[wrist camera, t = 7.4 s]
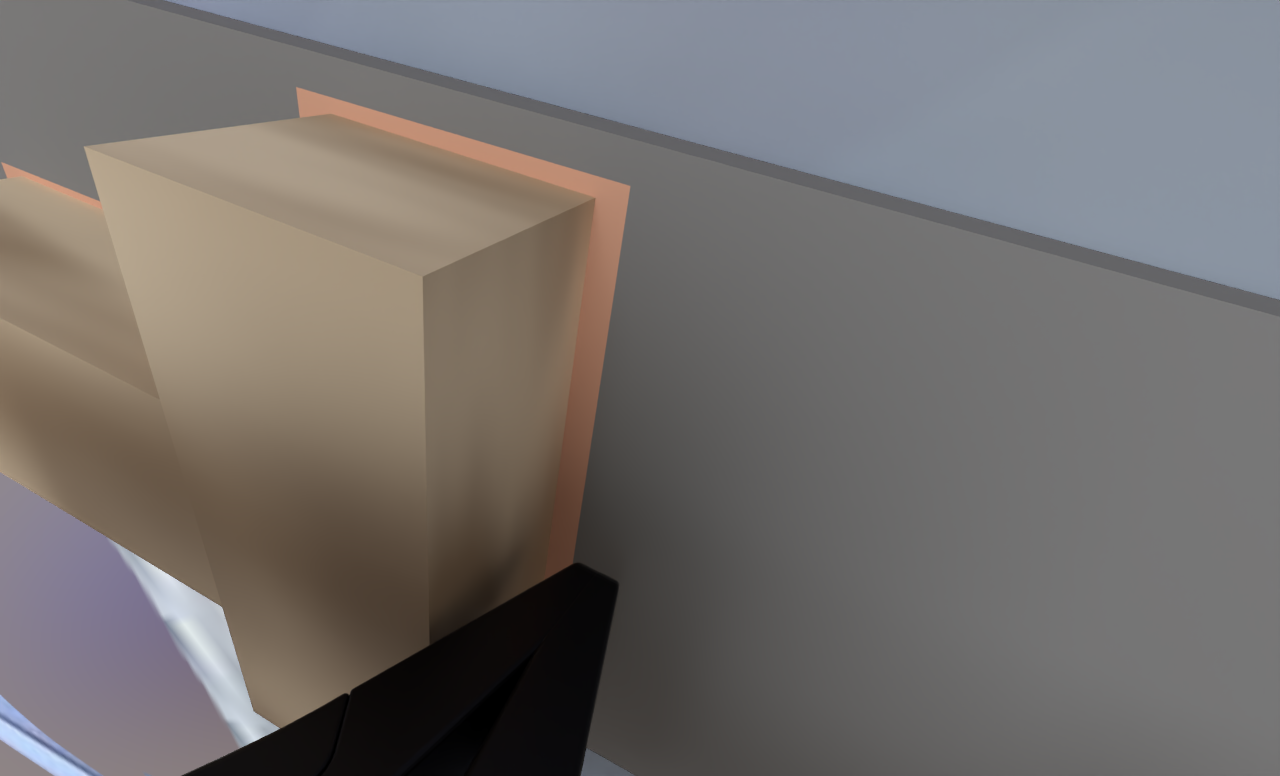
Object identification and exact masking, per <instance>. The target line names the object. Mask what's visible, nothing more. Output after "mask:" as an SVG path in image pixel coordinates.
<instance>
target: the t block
mask: <svg viewBox="0 0 1280 776" xmlns="http://www.w3.org/2000/svg"><path fill="white" fill-rule="evenodd" d="M84 149H85V152H86V156H87V159H88V162H89V166H90V169H91V172H92V176H93V179H94V182H95V186H96V189H97V192H98V196H99V199H100V202H101V205H102V209H103V210H102V209H100V208H98V207H95V206H93V205H90V204H88V203H86V202H83V201H81V200H78V199H76V198H74V197H71V196H69V195H66V194H64V193H62V192H59V191H57V190H54V189H52V188H50V187H47V186H45V185H42V184H40V183H38V182H35V181H33V180H31V179H28V178H26V177H23V176H19V177H13V178H6V179H0V472H1V473H3V474H4V475H6V476H8V477H9V478H11V479H12V480H14V481H16V482H17V483H19V484H21V485H22V486H24V487H26V488H27V489H29V490H30V491H32V492H34V493H35V494H37V495H39V496H40V497H42V498H44V499H45V500H47V501H49V502H50V503H52V504H54V505H55V506H57V507H58V508H60V509H62V510H63V511H65V512H67V513H68V514H70V515H72V516H73V517H75V518H77V519H78V520H80V521H82V522H83V523H85V524H86V525H88V526H90V527H92V528H93V529H95V530H96V531H98V532H100V533H101V534H103V535H105V536H106V537H108V538H109V539H111V540H113V541H114V542H116V543H118V544H119V545H121V546H123V547H124V548H126V549H128V550H129V551H131V552H133V553H134V554H136V555H137V556H139V557H141V558H142V559H144V560H146V561H147V562H149V563H151V564H152V565H154V566H156V567H157V568H159V569H161V570H162V571H164V572H165V573H167V574H169V575H170V576H172V577H174V578H175V579H177V580H179V581H180V582H182V583H184V584H185V585H187V586H188V587H190V588H192V589H193V590H195V591H197V592H198V593H200V594H202V595H203V596H205V597H207V598H208V599H210V600H212V601H213V602H215V603H216V604H218V605H220V606H221V607H223V611H224V614H225V617H226V621H227V624H228V627H229V631H230V634H231V637H232V641H233V644H234V647H235V651H236V654H237V657H238V661H239V664H240V667H241V671H242V674H243V677H244V681H245V684H246V687H247V690H248V694H249V697H250V700H251V704H252V707H253V710H254V712H256V713H257V714H259V715H260V716H262V717H264V718H265V719H267V720H268V721H270V722H271V723H273V724H274V725H276V726H277V727H279V728H282V727H284V726H286V725H288V724H290V723H292V722H293V721H295V720H297V719H299V718H301V717H303V716H305V715H306V714H308V713H310V712H312V711H314V710H316V709H318V708H319V707H321V706H323V705H325V704H326V703H328V702H330V701H332V700H333V699H335V698H337V697H338V696H340V695H342V694H344V693H348V694H350V691H351V690H352V689H353V688H355V687H357V686H358V685H360V684H362V683H364V682H365V681H367V680H369V679H371V678H372V677H374V676H376V675H378V674H379V673H381V672H383V671H385V670H387V669H388V668H390V667H392V666H394V665H395V664H397V663H399V662H401V661H402V660H404V659H406V658H408V657H409V656H411V655H413V654H415V653H416V652H418V651H420V650H422V649H423V648H425V647H427V646H429V645H430V644H432V643H434V642H436V641H438V640H439V639H441V638H443V637H445V636H446V635H448V634H450V633H452V632H453V631H455V630H457V629H459V628H460V627H462V626H464V625H466V624H467V623H469V622H471V621H473V620H474V619H476V618H478V617H480V616H481V615H483V614H485V613H487V612H489V611H490V610H492V609H494V608H496V607H497V606H499V605H501V604H503V603H504V602H506V601H508V600H510V599H511V598H513V597H515V596H517V595H518V594H520V593H522V592H524V591H525V590H527V589H529V588H531V587H532V586H534V585H536V584H538V583H540V582H541V581H543V580H544V579H545V571H546V564H547V556H548V549H549V541H550V534H551V526H552V519H553V511H554V504H555V496H556V489H557V482H558V474H559V467H560V459H561V452H562V444H563V437H564V429H565V422H566V414H567V407H568V399H569V392H570V384H571V377H572V369H573V362H574V354H575V347H576V339H577V332H578V325H579V317H580V310H581V302H582V295H583V287H584V280H585V272H586V265H587V257H588V250H589V242H590V235H591V227H592V220H593V212H594V205H595V197H592V196H589V195H586V194H583V193H579V192H576V191H573V190H570V189H567V188H564V187H561V186H557V185H554V184H551V183H548V182H545V181H542V180H539V179H535V178H532V177H529V176H526V175H523V174H520V173H517V172H513V171H510V170H507V169H504V168H501V167H498V166H495V165H491V164H488V163H485V162H482V161H479V160H476V159H473V158H469V157H466V156H463V155H460V154H457V153H454V152H451V151H447V150H444V149H441V148H438V147H435V146H432V145H429V144H425V143H422V142H419V141H416V140H413V139H410V138H407V137H403V136H400V135H397V134H394V133H391V132H388V131H384V130H381V129H378V128H375V127H372V126H369V125H366V124H362V123H359V122H356V121H353V120H350V119H347V118H344V117H340V116H337V115H334V114H325V115H317V116H309V117H302V118H294V119H287V120H279V121H272V122H264V123H257V124H249V125H241V126H234V127H226V128H219V129H211V130H204V131H196V132H189V133H181V134H173V135H166V136H158V137H151V138H143V139H136V140H128V141H120V142H113V143H105V144H98V145H90V146H84Z"/></svg>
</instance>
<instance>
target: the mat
mask: <svg viewBox="0 0 1280 776" xmlns="http://www.w3.org/2000/svg"><path fill="white" fill-rule="evenodd" d="M325 114H334V115H337V116H340V117H344V118H347V119H350V120H353V121H356V122H359V123H362V124H366V125H369V126H372V127H375V128H378V129H381V130H384V131H388V132H391V133H394V134H397V135H400V136H403V137H407V138H410V139H413V140H416V141H419V142H422V143H425V144H429V145H432V146H435V147H438V148H441V149H444V150H447V151H451V152H454V153H457V154H460V155H463V156H466V157H469V158H473V159H476V160H479V161H482V162H485V163H488V164H491V165H495V166H498V167H501V168H504V169H507V170H510V171H513V172H517V173H520V174H523V175H526V176H529V177H532V178H535V179H539V180H542V181H545V182H548V183H551V184H554V185H557V186H561V187H564V188H567V189H570V190H573V191H576V192H579V193H583V194H586V195H589V196H592V197H595V205H594V212H593V220H592V227H591V235H590V242H589V250H588V257H587V265H586V272H585V280H584V287H583V295H582V302H581V310H580V317H579V325H578V332H577V339H576V347H575V354H574V362H573V369H572V377H571V384H570V392H569V399H568V407H567V414H566V422H565V429H564V437H563V444H562V452H561V459H560V467H559V474H558V482H557V489H556V496H555V504H554V511H553V519H552V526H551V534H550V541H549V549H548V556H547V564H546V571H545V579H547V578H548V577H550V576H552V575H554V574H555V573H557V572H559V571H561V570H562V569H564V568H566V567H568V566H569V565H571V564H573V563H578V562H579V563H582V564H584V565H586V566H588V567H590V568H592V569H594V570H597V571H598V572H601V573H603V574H605V575H607V576H609V577H611V578H613V579H615V580H617V581H618V582H619V591H618V596H617V601H616V606H615V611H614V616H613V620H612V625H611V630H610V635H609V640H608V645H607V650H606V654H605V659H604V664H603V669H602V674H601V679H600V684H599V688H598V693H597V698H596V703H595V708H594V713H593V718H592V722H591V727H590V732H589V737H588V742H587V747H586V748H588V749H590V750H591V751H593V752H595V753H597V754H598V755H600V756H602V757H604V758H606V759H607V760H609V761H611V762H613V763H614V764H616V765H618V766H620V767H622V768H623V769H625V770H627V771H629V772H630V773H632V774H634V775H636V776H1280V300H1277V299H1273V298H1269V297H1266V296H1262V295H1258V294H1254V293H1251V292H1247V291H1243V290H1239V289H1236V288H1232V287H1228V286H1225V285H1221V284H1217V283H1213V282H1210V281H1206V280H1202V279H1199V278H1195V277H1191V276H1187V275H1184V274H1180V273H1176V272H1172V271H1169V270H1165V269H1161V268H1158V267H1154V266H1150V265H1146V264H1143V263H1139V262H1135V261H1132V260H1128V259H1124V258H1120V257H1117V256H1113V255H1109V254H1106V253H1102V252H1098V251H1094V250H1091V249H1087V248H1083V247H1079V246H1076V245H1072V244H1068V243H1065V242H1061V241H1057V240H1053V239H1050V238H1046V237H1042V236H1039V235H1035V234H1031V233H1027V232H1024V231H1020V230H1016V229H1012V228H1009V227H1005V226H1001V225H998V224H994V223H990V222H986V221H983V220H979V219H975V218H972V217H968V216H964V215H960V214H957V213H953V212H949V211H945V210H942V209H938V208H934V207H931V206H927V205H923V204H919V203H916V202H912V201H908V200H905V199H901V198H897V197H893V196H890V195H886V194H882V193H879V192H875V191H871V190H867V189H864V188H860V187H856V186H852V185H849V184H845V183H841V182H838V181H834V180H830V179H826V178H823V177H819V176H815V175H812V174H808V173H804V172H800V171H797V170H793V169H789V168H785V167H782V166H778V165H774V164H771V163H767V162H763V161H759V160H756V159H752V158H748V157H745V156H741V155H737V154H733V153H730V152H726V151H722V150H719V149H715V148H711V147H707V146H704V145H700V144H696V143H692V142H689V141H685V140H681V139H678V138H674V137H670V136H666V135H663V134H659V133H655V132H652V131H648V130H644V129H640V128H637V127H633V126H629V125H625V124H622V123H618V122H614V121H611V120H607V119H603V118H599V117H596V116H592V115H588V114H585V113H581V112H577V111H573V110H570V109H566V108H562V107H558V106H555V105H551V104H547V103H544V102H540V101H536V100H532V99H529V98H525V97H521V96H518V95H514V94H510V93H506V92H503V91H499V90H495V89H492V88H488V87H484V86H480V85H477V84H473V83H469V82H465V81H462V80H458V79H454V78H451V77H447V76H443V75H439V74H436V73H432V72H428V71H425V70H421V69H417V68H413V67H410V66H406V65H402V64H398V63H395V62H391V61H387V60H384V59H380V58H376V57H372V56H369V55H365V54H361V53H358V52H354V51H350V50H346V49H343V48H339V47H335V46H331V45H328V44H324V43H320V42H317V41H313V40H309V39H305V38H302V37H298V36H294V35H291V34H287V33H283V32H279V31H276V30H272V29H268V28H265V27H261V26H257V25H253V24H250V23H246V22H242V21H238V20H235V19H231V18H227V17H224V16H220V15H216V14H212V13H209V12H205V11H201V10H198V9H194V8H190V7H186V6H183V5H179V4H175V3H171V2H168V1H164V0H0V179H6V178H13V177H19V176H23V177H26V178H28V179H31V180H33V181H35V182H38V183H40V184H42V185H45V186H47V187H50V188H52V189H54V190H57V191H59V192H62V193H64V194H66V195H69V196H71V197H74V198H76V199H78V200H81V201H83V202H86V203H88V204H90V205H93V206H95V207H98V208H100V209H102V205H101V202H100V199H99V196H98V192H97V189H96V186H95V182H94V179H93V176H92V172H91V169H90V166H89V162H88V159H87V156H86V152H85V149H84V146H90V145H98V144H105V143H113V142H120V141H128V140H136V139H143V138H151V137H158V136H166V135H173V134H181V133H189V132H196V131H204V130H211V129H219V128H226V127H234V126H241V125H249V124H257V123H264V122H272V121H279V120H287V119H294V118H302V117H309V116H317V115H325ZM102 210H103V209H102ZM545 579H544V580H545Z"/></svg>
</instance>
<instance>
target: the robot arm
mask: <svg viewBox="0 0 1280 776" xmlns="http://www.w3.org/2000/svg"><path fill="white" fill-rule="evenodd" d="M618 591H619V582H618V581H617V580H615V579H613V578H611V577H609V576H607V575H605V574H603V573H601V572H598V571H597V570H594V569H592V568H590V567H588V566H586V565H584V564H582V563H579V562H578V563H573V564H571V565H569V566H568V567H566V568H564V569H562V570H561V571H559V572H557V573H555V574H554V575H552V576H550V577H548V578H547V579H545V580H543V581H541V582H540V583H538V584H536V585H534V586H532V587H531V588H529V589H527V590H525V591H524V592H522V593H520V594H518V595H517V596H515V597H513V598H511V599H510V600H508V601H506V602H504V603H503V604H501V605H499V606H497V607H496V608H494V609H492V610H490V611H489V612H487V613H485V614H483V615H481V616H480V617H478V618H476V619H474V620H473V621H471V622H469V623H467V624H466V625H464V626H462V627H460V628H459V629H457V630H455V631H453V632H452V633H450V634H448V635H446V636H445V637H443V638H441V639H439V640H438V641H436V642H434V643H432V644H430V645H429V646H427V647H425V648H423V649H422V650H420V651H418V652H416V653H415V654H413V655H411V656H409V657H408V658H406V659H404V660H402V661H401V662H399V663H397V664H395V665H394V666H392V667H390V668H388V669H387V670H385V671H383V672H381V673H379V674H378V675H376V676H374V677H372V678H371V679H369V680H367V681H365V682H364V683H362V684H360V685H358V686H357V687H355V688H353V689H352V690H351V691H350V694H348V693H344V694H342V695H340V696H338V697H337V698H335V699H333V700H332V701H330V702H328V703H326V704H325V705H323V706H321V707H319V708H318V709H316V710H314V711H312V712H310V713H308V714H306V715H305V716H303V717H301V718H299V719H297V720H295V721H293V722H292V723H290V724H288V725H286V726H284V727H282V728H280V729H279V730H277V731H275V732H273V733H271V734H269V735H267V736H265V737H263V738H261V739H259V740H257V741H254V742H252V743H250V744H248V745H246V746H244V747H242V748H240V749H238V750H236V751H234V752H232V753H229V754H227V755H225V756H223V757H221V758H219V759H217V760H214V761H212V762H210V763H208V764H206V765H204V766H201V767H199V768H197V769H195V770H193V771H190V772H188V773H186V774H184V775H182V776H581V771H582V766H583V761H584V756H585V752H586V747H587V742H588V737H589V732H590V727H591V722H592V718H593V713H594V708H595V703H596V698H597V693H598V688H599V684H600V679H601V674H602V669H603V664H604V659H605V654H606V650H607V645H608V640H609V635H610V630H611V625H612V620H613V616H614V611H615V606H616V601H617V596H618Z"/></svg>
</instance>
